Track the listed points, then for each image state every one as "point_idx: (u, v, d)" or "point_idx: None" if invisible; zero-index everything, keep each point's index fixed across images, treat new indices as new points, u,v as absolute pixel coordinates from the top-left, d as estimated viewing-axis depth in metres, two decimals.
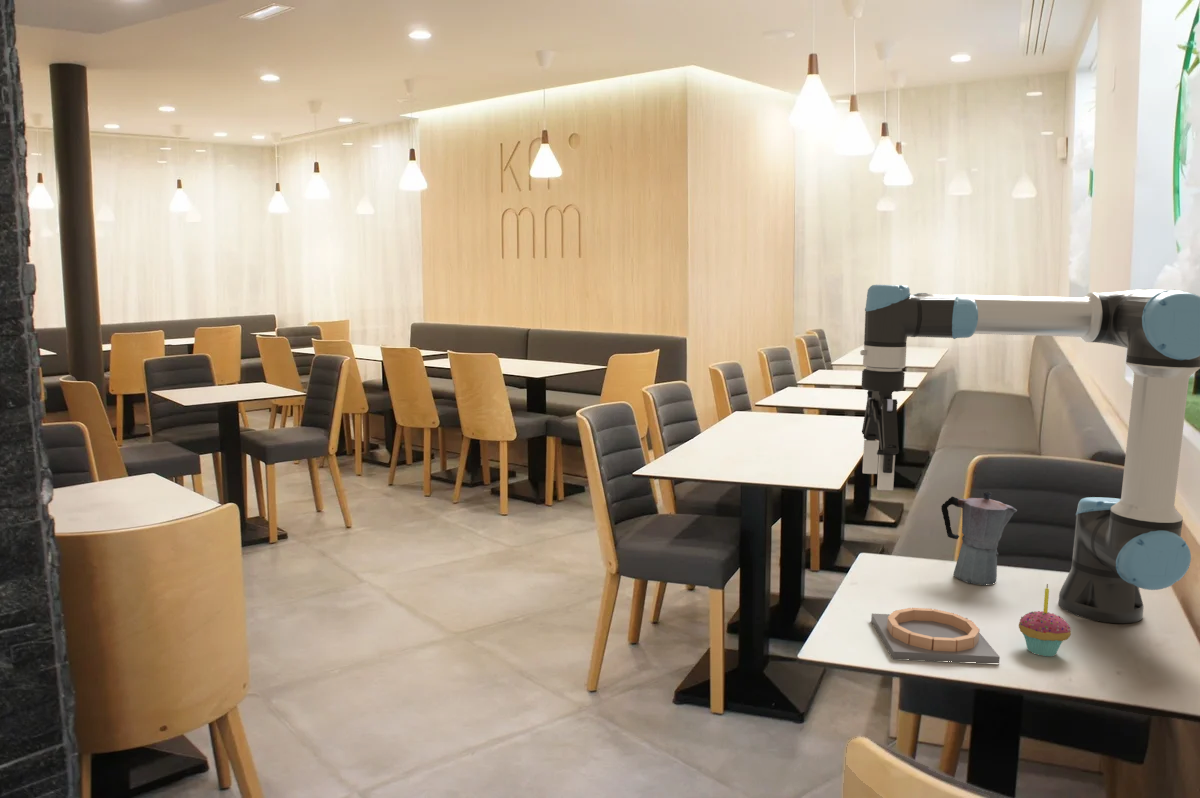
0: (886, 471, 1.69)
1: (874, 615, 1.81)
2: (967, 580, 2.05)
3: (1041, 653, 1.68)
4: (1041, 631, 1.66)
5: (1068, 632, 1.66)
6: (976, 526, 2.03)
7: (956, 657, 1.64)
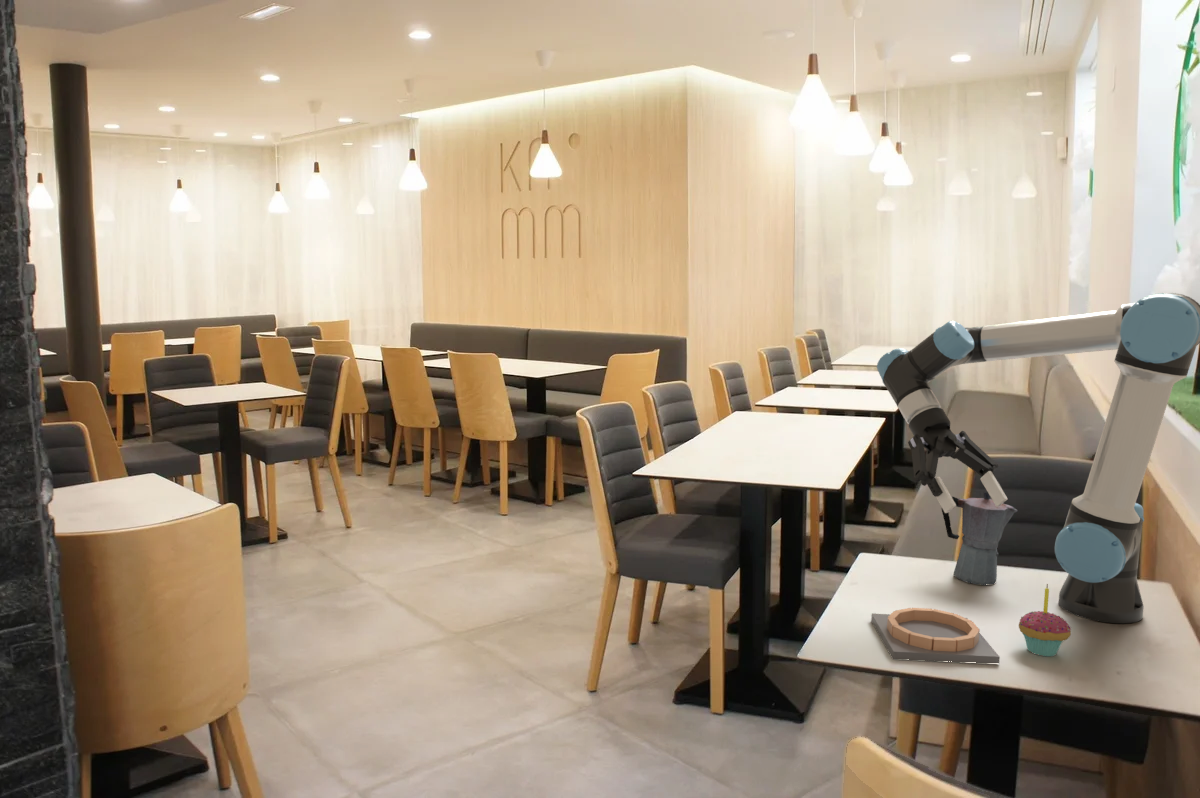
0: (935, 494, 1.80)
1: (874, 615, 1.81)
2: (967, 580, 2.05)
3: (1041, 653, 1.68)
4: (1041, 631, 1.66)
5: (1068, 632, 1.66)
6: (976, 526, 2.03)
7: (956, 657, 1.64)
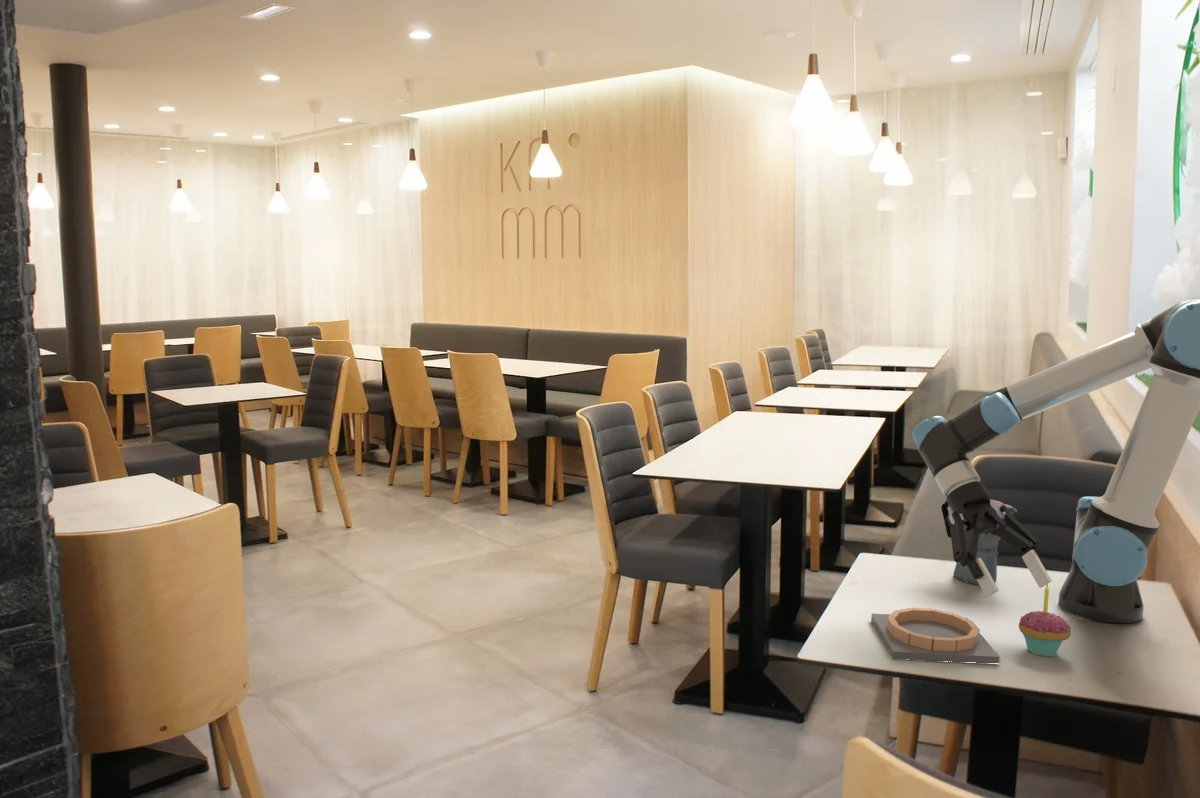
0: (975, 577, 1.71)
1: (874, 615, 1.81)
2: (967, 580, 2.05)
3: (1041, 653, 1.68)
4: (1041, 631, 1.66)
5: (1068, 632, 1.66)
6: None
7: (956, 657, 1.64)
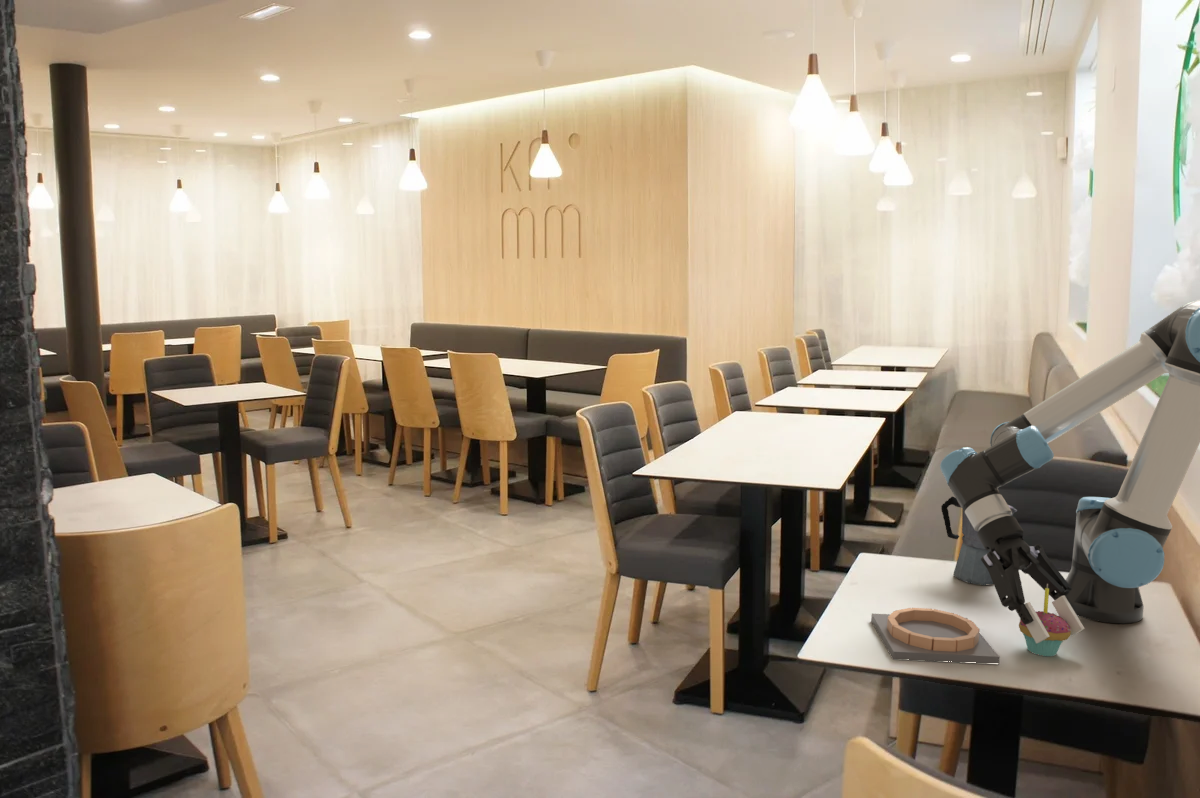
0: (1025, 622, 1.66)
1: (874, 615, 1.81)
2: (967, 580, 2.05)
3: (1042, 653, 1.68)
4: None
5: (1068, 632, 1.66)
6: None
7: (956, 657, 1.64)
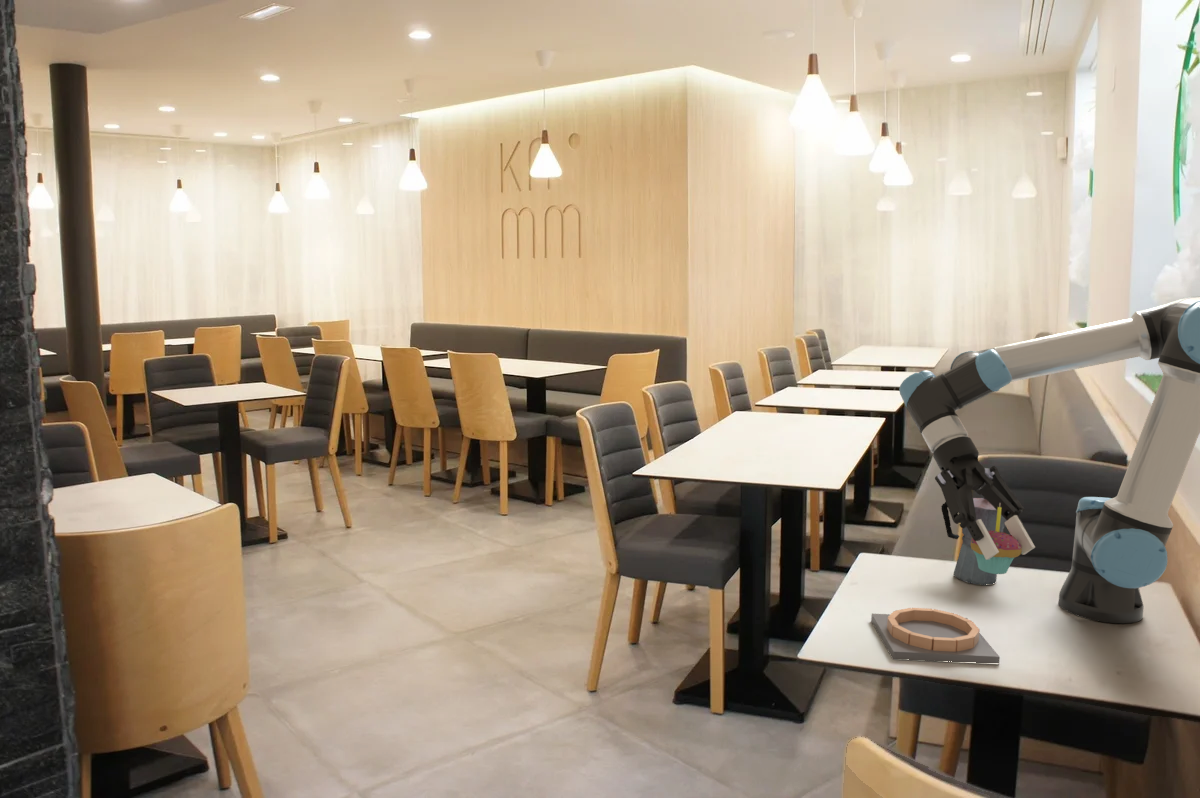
0: (975, 538, 1.66)
1: (874, 615, 1.81)
2: (967, 580, 2.05)
3: (992, 571, 1.68)
4: None
5: (1018, 549, 1.66)
6: None
7: (956, 657, 1.64)
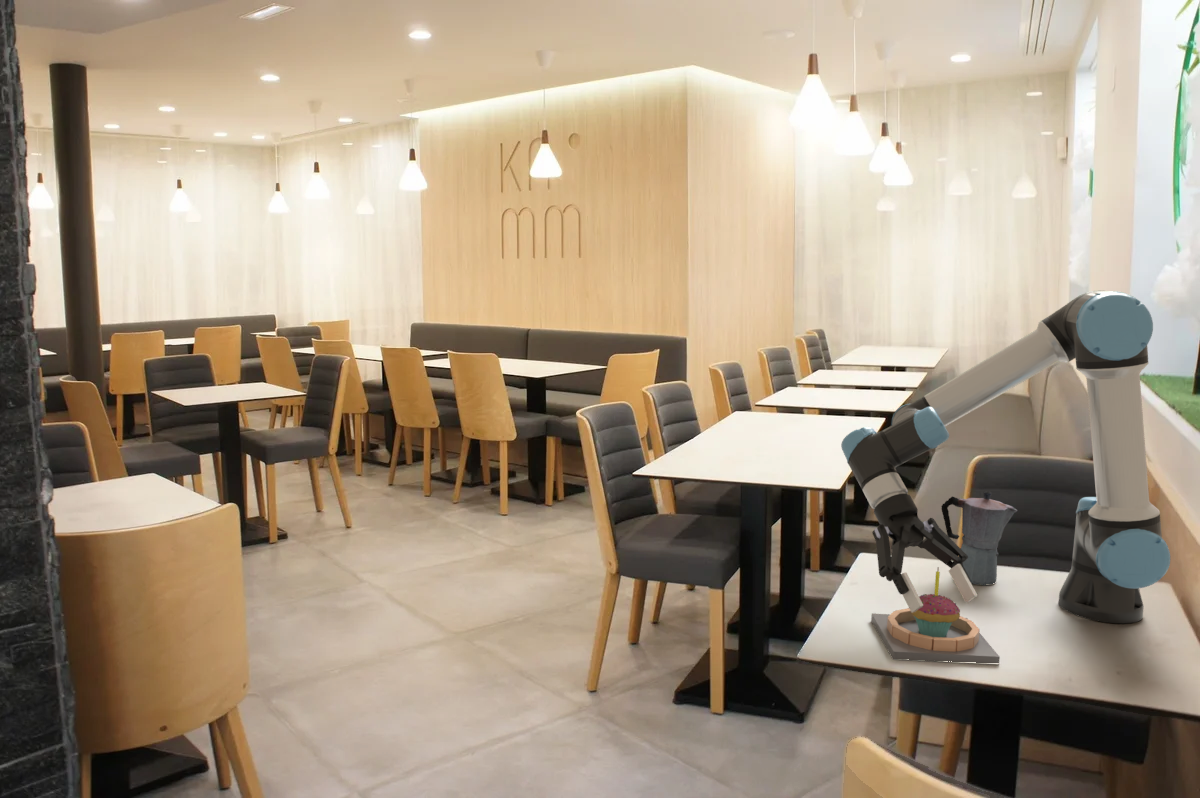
0: (900, 592, 1.68)
1: (874, 615, 1.81)
2: None
3: (931, 635, 1.71)
4: (929, 613, 1.69)
5: (956, 614, 1.69)
6: (976, 526, 2.03)
7: (956, 657, 1.64)
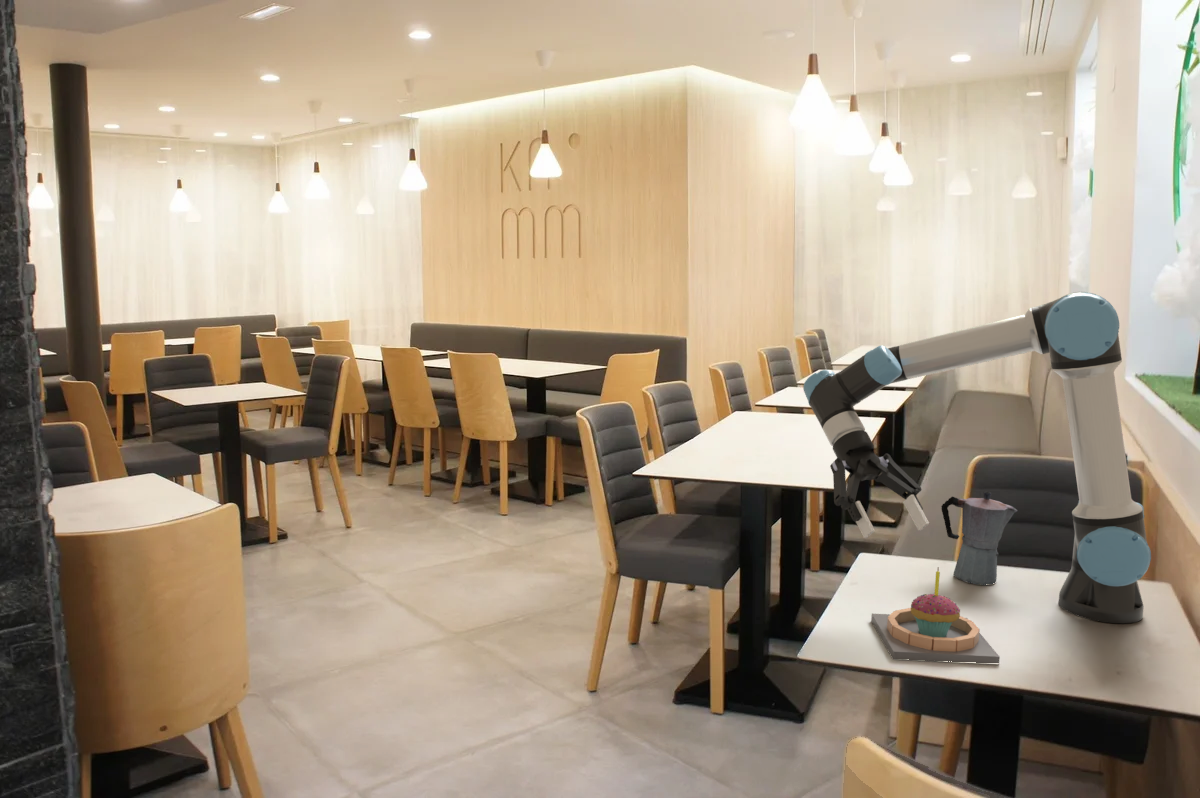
0: (854, 519, 1.78)
1: (874, 615, 1.81)
2: (967, 580, 2.05)
3: (931, 635, 1.71)
4: (929, 613, 1.69)
5: (956, 614, 1.69)
6: (976, 526, 2.03)
7: (956, 657, 1.64)
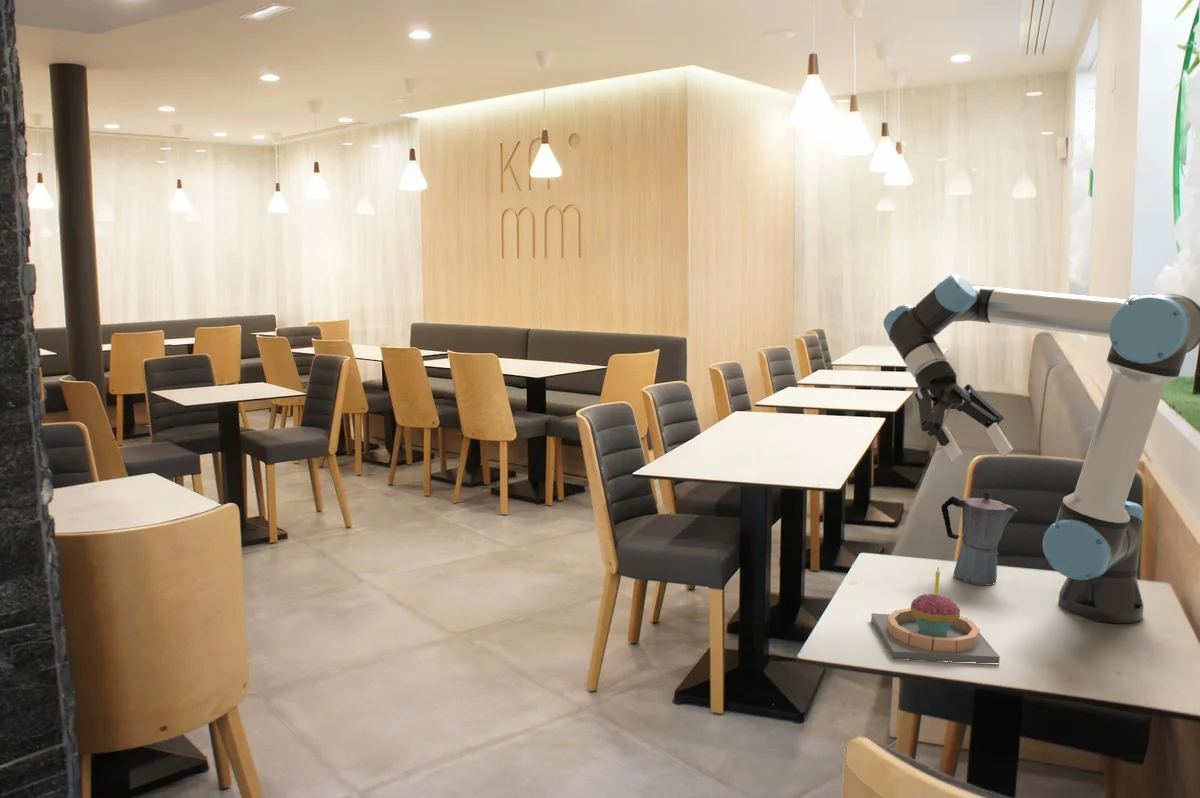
0: (941, 443, 1.83)
1: (874, 615, 1.81)
2: (967, 580, 2.05)
3: (931, 635, 1.71)
4: (929, 613, 1.69)
5: (956, 614, 1.69)
6: (976, 526, 2.03)
7: (956, 657, 1.64)
